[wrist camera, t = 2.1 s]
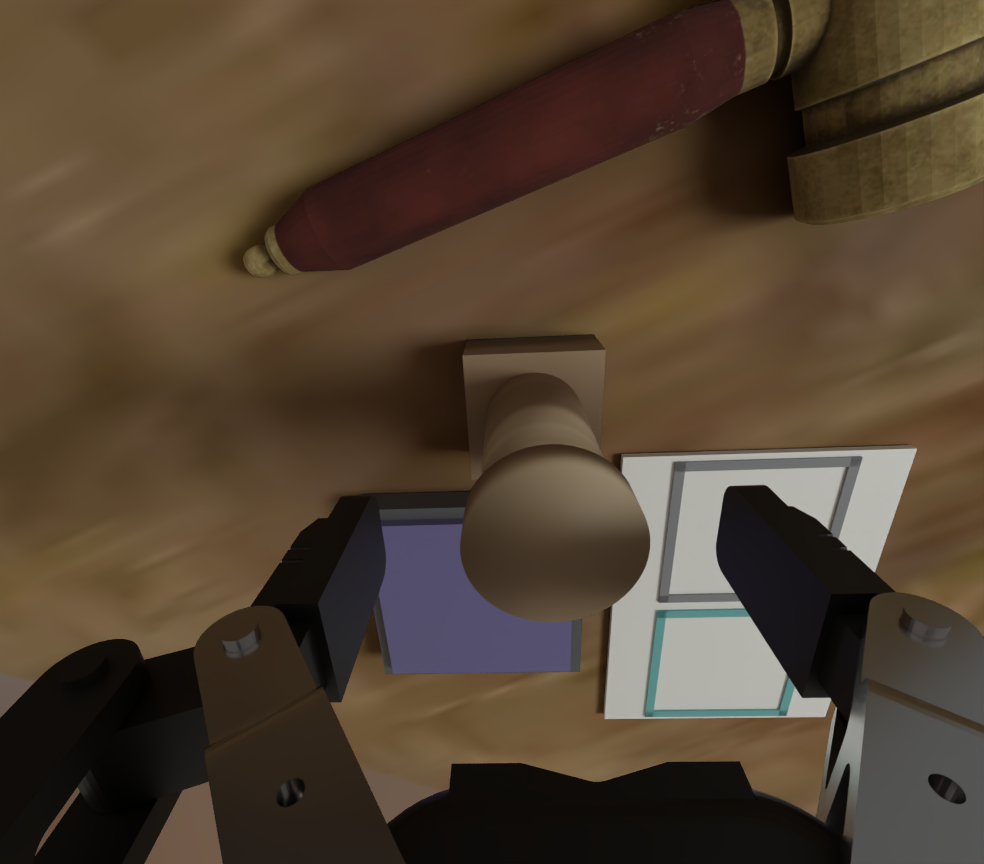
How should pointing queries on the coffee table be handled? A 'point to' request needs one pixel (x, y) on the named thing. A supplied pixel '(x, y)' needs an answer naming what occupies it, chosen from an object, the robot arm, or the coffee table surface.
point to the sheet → (705, 591)
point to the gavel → (682, 122)
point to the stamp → (545, 482)
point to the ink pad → (452, 601)
